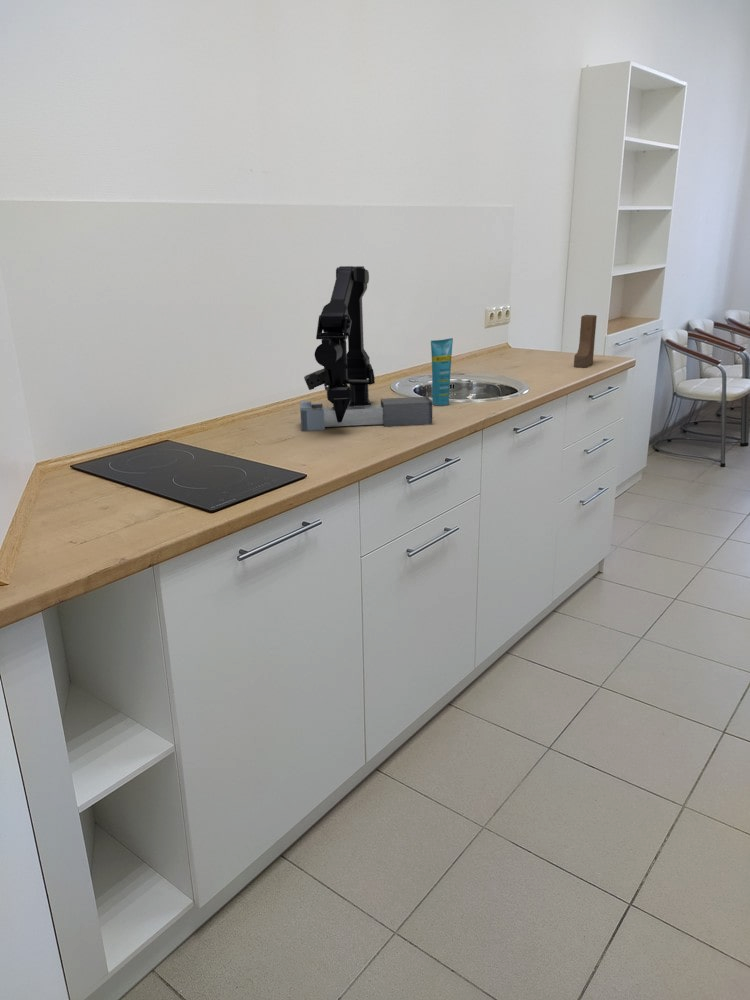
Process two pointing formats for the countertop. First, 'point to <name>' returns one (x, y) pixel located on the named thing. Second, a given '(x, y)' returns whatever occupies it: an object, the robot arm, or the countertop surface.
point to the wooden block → (586, 342)
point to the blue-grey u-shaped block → (311, 416)
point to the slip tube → (355, 416)
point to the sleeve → (407, 411)
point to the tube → (441, 370)
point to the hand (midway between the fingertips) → (338, 417)
